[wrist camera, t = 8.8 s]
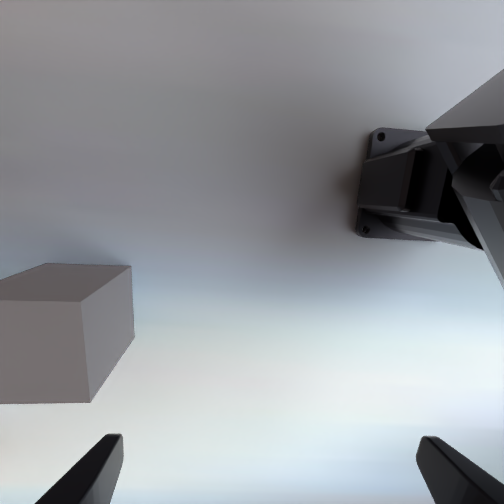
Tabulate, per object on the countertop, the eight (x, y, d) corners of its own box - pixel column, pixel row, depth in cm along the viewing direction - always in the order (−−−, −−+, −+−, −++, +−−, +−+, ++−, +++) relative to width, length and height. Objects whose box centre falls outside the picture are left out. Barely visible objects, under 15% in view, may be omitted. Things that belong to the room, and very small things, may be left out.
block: (131, 265, 16) (80, 301, 10) (134, 336, 17) (90, 402, 11) (47, 263, 15) (-53, 299, 10) (55, 336, 16) (-30, 404, 11)
